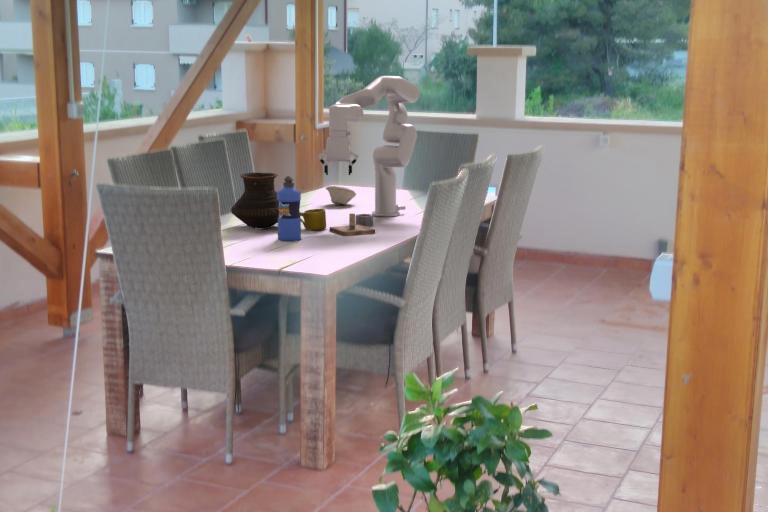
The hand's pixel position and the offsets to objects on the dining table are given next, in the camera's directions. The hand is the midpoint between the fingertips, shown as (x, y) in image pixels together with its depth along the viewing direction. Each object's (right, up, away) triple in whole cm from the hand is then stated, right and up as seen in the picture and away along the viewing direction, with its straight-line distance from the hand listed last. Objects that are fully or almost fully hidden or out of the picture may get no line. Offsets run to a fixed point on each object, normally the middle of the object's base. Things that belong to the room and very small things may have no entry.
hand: (338, 174), depth 444 cm
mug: (-11, -24, -8) cm, 27 cm away
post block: (+6, -25, -14) cm, 29 cm away
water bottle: (-18, -28, -32) cm, 46 cm away
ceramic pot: (-32, -23, -4) cm, 40 cm away
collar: (+11, -22, +2) cm, 24 cm away
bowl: (-1, -10, +60) cm, 61 cm away
